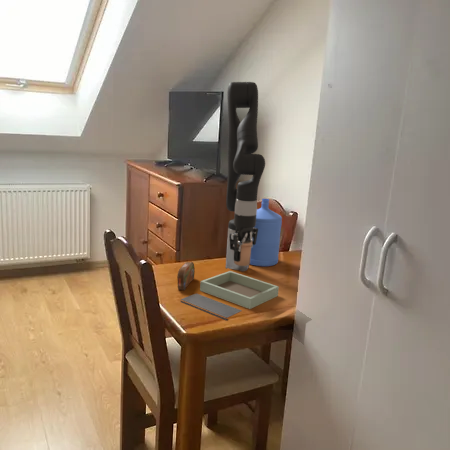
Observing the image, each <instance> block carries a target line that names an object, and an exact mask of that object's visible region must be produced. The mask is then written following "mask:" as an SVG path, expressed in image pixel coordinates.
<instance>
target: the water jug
mask: <svg viewBox="0 0 450 450" xmlns="http://www.w3.org/2000/svg"><path fill="white" fill-rule="evenodd" d="M269 202H270V199H269V198H261V207H260V208H257V214H256V225H255V227H253V228H257V229H258V234H257V239H256V244H255V245H253V247H252V248H251V257H250V265H252V266H255V267H256V266H257V267H271V266H276V265H277V264H278V262H279V251H280V243H281V242H280V241H281V240H280V239H281V230H282V224H283V221H282V220H283V217H282V215H280V214H279V213H277V212H275V211H273V210H271V209H270V208H269V206H270V205H269V204H270V203H269ZM252 238H253V237H252ZM253 239H254V238H253Z"/></svg>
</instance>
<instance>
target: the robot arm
mask: <svg viewBox="0 0 450 450" xmlns="http://www.w3.org/2000/svg"><path fill="white" fill-rule="evenodd" d="M258 89H259V88H258V86H257V84H256V82H253V81H231V82H229V84H228V85H227V90H226V91H227V94H226V95H227V119H228V134H227V135H228V137H227V186H226V209H227V210H228V211H229V212H234V215H233V216H234V217H233V219H231V220H229V222H228V223H227V224H228V227H227V241H226V256H225V269H230V270H235V271H239V272H246V271H248V269H249V267H250V265H247V266H239V265H236V264H234V261H237V262H239V261H240V256H241V248H242V246H241V245H243V244H244V242H245V241H248V240H249V241H252V245H251V248H252V247H253V245H255V244H256V239H257V234H258V229H257V228H253V227H255V225H256V214H257V209H258V190H259V185H260V182H261V178H262V176H263V173H264V170H265V166H266V160H265V157H264V156H263V155H262V154H259V153H256V152H257V151H258V148H259V142H258V129H257V128H258V115H259V110H258V109H259V90H258ZM237 109H248V112H247V113H246V115H245V116H244V117H243V119H242V120H240V119H239V116H238V113H237ZM242 175H244V176H245V175H246V176H251V178H250V179H248V180H243V181H239V179H240V177H241V176H242ZM238 181H239V182H238ZM252 237H253V238H254V239H253V238H252ZM238 241H241V242H238ZM238 244H239V247H238ZM250 257H251V256H250Z"/></svg>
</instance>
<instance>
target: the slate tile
mask: <svg viewBox="0 0 450 450" xmlns="http://www.w3.org/2000/svg"><path fill="white" fill-rule="evenodd" d="M180 303H182V304H184V305H186V306H189V307H192V308H194V309H197V310H199V311H202V312H204V313H206V314H209V315H212V316H215V317H216V318H219V319H221V320H223V321H226V322H227V321H229V319H228V318H231V317H232V316H234V315H236V314H238V313H240V312H242V311H243V310H241V309H238V308H237V307H233V306H231V305H228V304H225V303H223V302H220V301H218V300H216V299H213V298H209V297H208V296H204V295H202V294H200V293H194V294H192V295H188V296H186V297H183V298H181V299H180Z"/></svg>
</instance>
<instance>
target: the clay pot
mask: <svg viewBox="0 0 450 450" xmlns="http://www.w3.org/2000/svg"><path fill="white" fill-rule="evenodd" d="M238 242H241V241H238ZM251 245H252V241H249V240H248V241H245V242H244V244H243V245H241V246H242V248H241V256H240V261H239V262H237V261H234V264H236V265H239V266H247V265H249V266H250V265H251V264H250V256H251ZM238 247H239V244H238Z"/></svg>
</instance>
